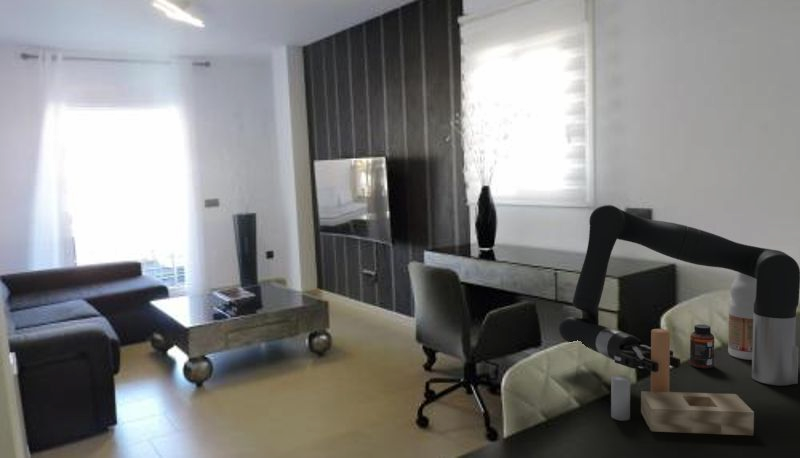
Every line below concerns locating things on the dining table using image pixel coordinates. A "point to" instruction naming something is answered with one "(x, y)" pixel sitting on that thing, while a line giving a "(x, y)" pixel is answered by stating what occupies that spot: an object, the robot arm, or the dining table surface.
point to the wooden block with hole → (696, 413)
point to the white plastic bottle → (741, 316)
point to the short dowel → (620, 397)
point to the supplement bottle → (702, 347)
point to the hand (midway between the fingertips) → (668, 365)
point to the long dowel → (660, 359)
